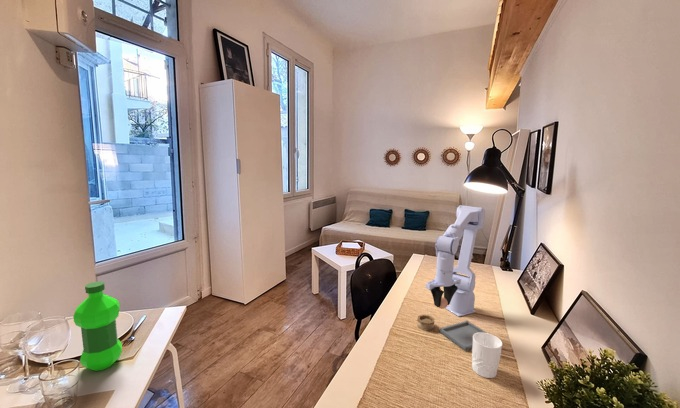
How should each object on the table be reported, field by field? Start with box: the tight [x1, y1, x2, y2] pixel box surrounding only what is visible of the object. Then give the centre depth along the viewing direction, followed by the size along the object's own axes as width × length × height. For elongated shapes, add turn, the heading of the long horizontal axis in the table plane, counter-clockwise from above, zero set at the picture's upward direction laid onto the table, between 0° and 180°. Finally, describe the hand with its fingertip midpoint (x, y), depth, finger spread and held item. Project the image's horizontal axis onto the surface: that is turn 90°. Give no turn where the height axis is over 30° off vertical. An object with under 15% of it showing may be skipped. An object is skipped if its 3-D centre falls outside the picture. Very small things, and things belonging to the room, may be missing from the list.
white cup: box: [471, 332, 503, 379], centre depth 90 cm, size 8×8×10 cm
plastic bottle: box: [73, 280, 123, 372], centre depth 87 cm, size 10×10×25 cm
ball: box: [438, 296, 449, 309], centre depth 110 cm, size 4×4×4 cm
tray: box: [438, 320, 488, 352], centre depth 108 cm, size 14×12×1 cm
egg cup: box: [416, 314, 435, 332], centre depth 114 cm, size 6×6×3 cm
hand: (441, 304), depth 110 cm, fingers closed on ball, 4 cm apart
